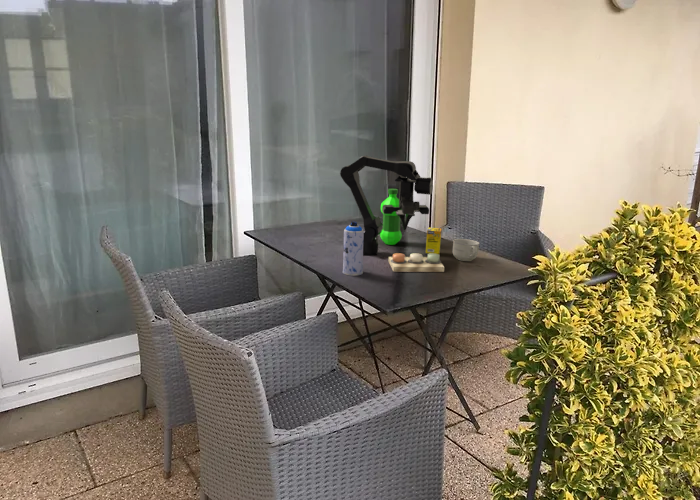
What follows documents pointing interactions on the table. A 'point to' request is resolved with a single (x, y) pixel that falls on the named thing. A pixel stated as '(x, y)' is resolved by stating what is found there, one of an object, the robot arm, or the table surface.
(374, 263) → the table surface
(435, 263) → the panel
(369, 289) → the table surface
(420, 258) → the cream button
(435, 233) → the supplement box
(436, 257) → the sage button
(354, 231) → the aerosol can
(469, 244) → the teacup
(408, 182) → the robot arm
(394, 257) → the rust button
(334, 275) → the table surface
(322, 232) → the table surface
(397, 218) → the plastic bottle
